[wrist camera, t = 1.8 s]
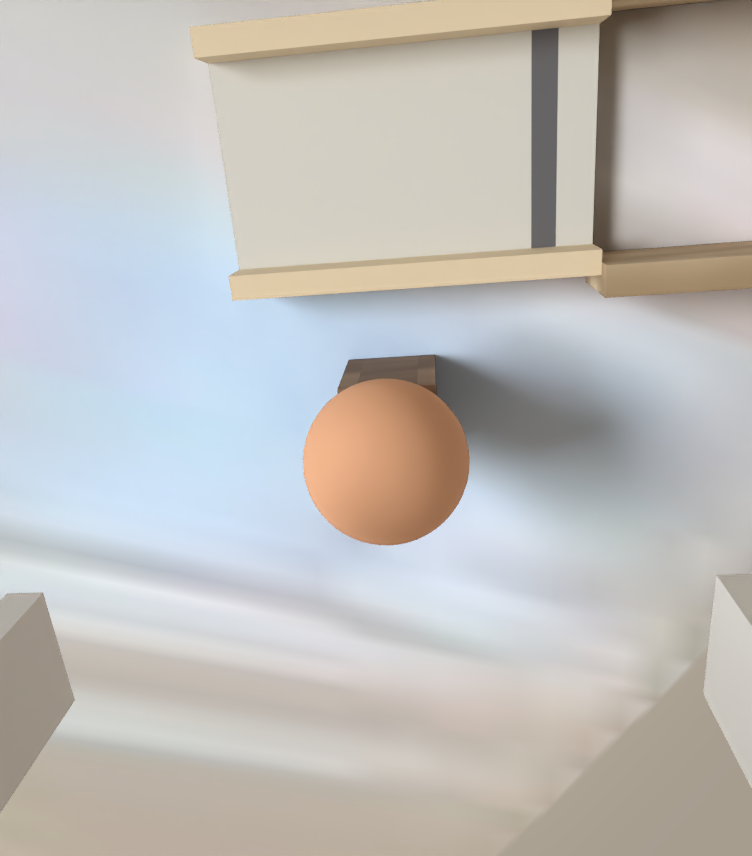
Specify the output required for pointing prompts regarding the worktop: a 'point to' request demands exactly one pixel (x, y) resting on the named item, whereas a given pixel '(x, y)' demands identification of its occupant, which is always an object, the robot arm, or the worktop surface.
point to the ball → (386, 461)
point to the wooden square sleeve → (391, 371)
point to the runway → (408, 144)
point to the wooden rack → (672, 249)
